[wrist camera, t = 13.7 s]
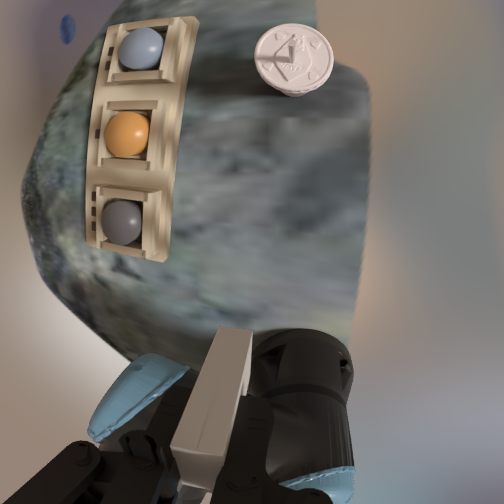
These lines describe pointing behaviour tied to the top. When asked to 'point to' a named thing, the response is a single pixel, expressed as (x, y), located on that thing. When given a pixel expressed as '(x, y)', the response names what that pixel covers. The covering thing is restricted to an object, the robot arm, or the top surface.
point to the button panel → (160, 137)
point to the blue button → (142, 49)
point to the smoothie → (294, 58)
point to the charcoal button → (122, 221)
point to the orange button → (128, 134)
